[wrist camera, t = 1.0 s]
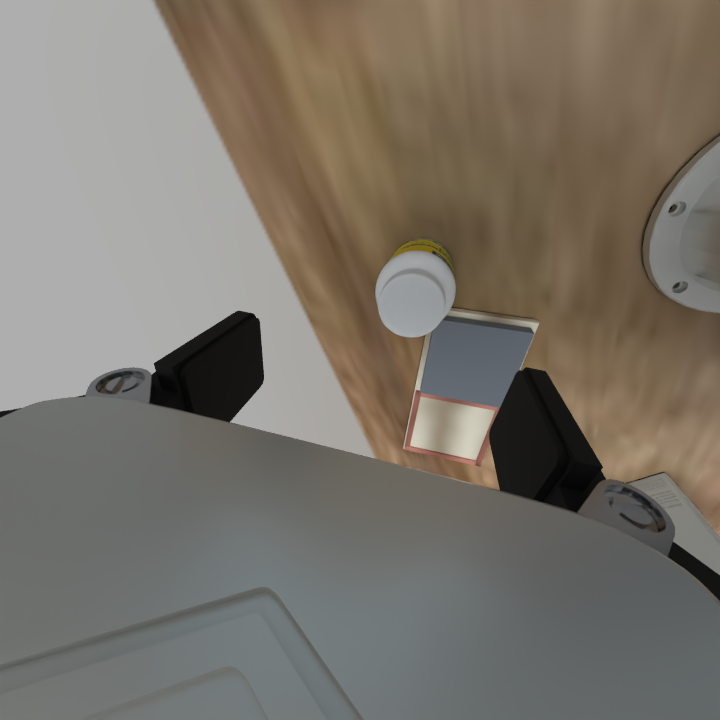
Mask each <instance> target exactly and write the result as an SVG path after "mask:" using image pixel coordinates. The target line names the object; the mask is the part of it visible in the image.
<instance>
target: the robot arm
mask: <svg viewBox="0 0 720 720" xmlns="http://www.w3.org/2000/svg"><path fill="white" fill-rule="evenodd" d="M671 206H673V207H672V209H671V210H670V211H669V208H670V207H671ZM668 211H669V212H668ZM643 261H644V266H645V269H646V272H647V274H648V277H649V279H650V280H651V282H652V283H653V284H654V286H655V287H656V288H657V290H659V291H660V292H661V293H663V294H664V295H665V296H666V297H668V298H669V299H671V300H673V301H675V302H677V303H679V304H681V305H683V306H686V307H689V308H692V309H695V310H699V311H704V312H712V313H720V135H719V136H718V137H717V138H716V139H714V140H713V141H712V142H711V143H709V144H708V145H707V146H706V147H704V148H703V149H702V150H700V151H699V152H698V153H697V154H696V155H695V156H694V157H693V158H692V159H691V160H690V161H689V162H688V163H687V164H686V165H685V166H684V167H683V168H682V169H681V170H680V172H679V173H678V174H677V175H676V177H675V178H674V179H673V181H672V182H671V183H670V184H669V186H668V187H667V188H666V190H665V191H664V192H663V194H662V196H661V198H660V199H659V201H658V203H657V205H656V206H655V208H654V210H653V212H652V214H651V217H650V220H649V222H648V225H647V228H646V230H645V236H644V242H643ZM154 366H155V369H156V372H155V373H153V374H152V375H151V373H150V372H149V371H147V370H145V369H142V368H123V369H118V370H114V371H111V372H108V373H105V374H103V375H101V376H99V377H98V378H96V379H95V380H94V381H93V382H91V384H90V385H89V387H88V389H87V392H86V395H83V396H78V397H70V398H61V399H54V400H48V401H42V402H38V403H35V404H32V405H29V406H26V407H24V408H19V409H14V410H8V411H1V412H0V720H720V575H719V574H718V573H716V572H715V571H713V570H712V569H711V568H709V567H708V566H707V565H705V564H704V563H702V562H701V561H700V560H698V559H697V558H695V557H694V556H693V555H691V554H690V553H689V552H687V551H686V550H684V549H683V548H682V547H680V546H679V545H678V544H676V543H675V542H673V539H674V536H675V526H674V524H673V521H672V519H671V517H670V516H669V515H668V514H667V512H666V511H665V510H664V509H663V508H662V507H661V506H660V505H659V504H658V503H657V502H656V501H655V500H654V499H652V498H651V497H650V496H648V495H647V494H645V493H644V492H643V491H641V490H639V489H637V488H635V487H633V486H632V485H629V484H627V483H624V482H621V481H617V480H612V479H608V480H606V478H605V477H604V475H603V473H602V472H601V469H602V468H603V467H602V465H601V463H600V462H599V460H598V458H597V457H596V455H595V453H594V452H593V450H592V448H591V447H590V445H589V443H588V441H587V440H586V438H585V436H584V435H583V433H582V431H581V430H580V428H579V426H578V425H577V423H576V421H575V420H574V418H573V416H572V415H571V413H570V411H569V410H568V408H567V406H566V404H565V403H564V401H563V399H562V398H561V396H560V394H559V393H558V391H557V389H556V388H555V386H554V384H553V383H552V381H551V379H550V378H549V376H548V374H547V373H546V372H545V371H542V370H537V369H532V368H527V367H526V368H524V370H523V371H520V370H519V371H517V372H516V374H515V376H514V378H513V381H512V383H511V385H510V387H509V389H508V391H507V394H506V396H505V398H504V400H503V402H502V404H501V406H500V409H499V411H498V413H497V415H496V417H495V419H494V421H493V424H492V426H491V428H490V431H489V440H490V445H491V450H492V455H493V459H494V464H495V469H496V473H497V478H498V483H499V488H500V490H496V489H492V488H488V487H484V486H481V485H477V484H473V483H469V482H465V481H461V480H457V479H453V478H449V477H445V476H442V475H438V474H434V473H430V472H426V471H422V470H418V469H414V468H410V467H406V466H402V465H398V464H394V463H390V462H386V461H382V460H378V459H374V458H370V457H366V456H362V455H358V454H354V453H350V452H346V451H342V450H338V449H334V448H330V447H326V446H322V445H318V444H315V443H311V442H307V441H302V440H298V439H294V438H291V437H287V436H282V435H279V434H275V433H271V432H266V431H263V430H259V429H255V428H251V427H247V426H242V425H239V424H235V423H230V421H231V420H232V419H233V418H234V417H235V415H236V414H237V413H238V412H239V411H240V410H241V408H242V407H243V406H244V405H245V404H246V403H247V402H248V401H249V399H250V398H251V397H252V396H253V395H254V394H255V392H256V391H257V390H258V389H259V388H260V387H261V385H262V384H263V380H264V370H263V357H262V345H261V332H260V321H259V319H258V318H256V316H255V315H254V314H252V313H247V312H243V311H237V312H235V313H233V314H232V315H230V316H228V317H227V318H225V319H224V320H222V321H221V322H219V323H217V324H216V325H214V326H213V327H211V328H210V329H208V330H206V331H205V332H203V333H201V334H200V335H198V336H197V337H195V338H194V339H192V340H190V341H189V342H187V343H185V344H184V345H182V346H181V347H179V348H178V349H176V350H174V351H173V352H171V353H170V354H168V355H166V356H165V357H163V358H162V359H160V360H158V361H157V362H155V363H154Z"/></svg>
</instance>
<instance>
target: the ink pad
mask: <svg viewBox="0 0 720 720" xmlns="http://www.w3.org/2000/svg"><path fill="white" fill-rule="evenodd" d="M534 334H535V333H534V332H533V330H532V329H531V328H530V327H523V326H516V325H509V324H502V323H495V322H488V321H481V320H474V319H467V318H460V317H453V316H445V317H444V318H443V319H442V320H441V322H440V323H439V325H438V326H437V327H436V328H435V329H434V330H433V331H432V334H431V339H430V344H429V348H428V353H427V358H426V363H425V367H424V372H423V377H422V382H421V387H420V393H424V394H429V395H435V396H440V397H445V398H451V399H456V400H461V401H466V402H472V403H477V404H482V405H488V406H493V407H498V408H500V406H501V404H502V402H503V400H504V398H505V396H506V394H507V391H508V389H509V387H510V385H511V383H512V381H513V378H514V376H515V374H516V372H517V371H519V370H520V368H521V365H522V363H523V361H524V358H525V356H526V353H527V351H528V348H529V346H530V344H531V341H532V339H533V336H534Z"/></svg>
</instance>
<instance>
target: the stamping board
mask: <svg viewBox="0 0 720 720" xmlns="http://www.w3.org/2000/svg"><path fill="white" fill-rule="evenodd" d="M446 316H453V317H460V318H467V319H474V320H481V321H488V322H495V323H502V324H509V325H516V326H523V327H530V328H531V329H532V330H533V332H534V333H536V330H537V328H538V325H539V322H538V321H537V320H536V319H529V318H522V317H515V316H508V315H500V314H493V313H486V312H479V311H472V310H464V309H457V308H451V309H450V311H449V312H448V314H447V315H446ZM431 334H432V331H431V332H430V333H428V334H426V335H425V340H424V345H423V350H422V355H421V360H420V365H419V370H418V375H417V380H416V385H415V390H414V395H413V400H412V405H411V410H410V415H409V420H408V426H407V431H406V436H405V441H404V446H403V449H404V450H409V451H413V452H418V453H422V454H427V455H431V456H436V457H440V458H445V459H449V460H454V461H458V462H463V463H467V464H472V465H476V466H481V464H482V461H483V459H484V456H485V454H486V452H487V449H488V447H489V444H490V440H489V431H490V428H491V426H492V424H493V421H494V419H495V417H496V415H497V413H498V411H499V409H500V408H498V407H493V406H488V405H482V404H477V403H472V402H466V401H461V400H456V399H451V398H445V397H440V396H435V395H429V394H424V393H420V387H421V382H422V377H423V372H424V367H425V363H426V358H427V353H428V348H429V344H430V339H431ZM534 335H535V334H534ZM533 337H534V336H533ZM532 340H533V339H532ZM531 342H532V341H531ZM530 345H531V344H530ZM529 347H530V346H529ZM528 350H529V348H528ZM527 352H528V351H527ZM526 354H527V353H526ZM525 357H526V356H525ZM524 359H525V358H524ZM523 362H524V361H523ZM522 364H523V363H522ZM521 367H522V365H521ZM520 369H521V368H520Z"/></svg>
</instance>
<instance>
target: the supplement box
mask: <svg viewBox="0 0 720 720" xmlns="http://www.w3.org/2000/svg"><path fill="white" fill-rule="evenodd" d="M628 484H629V485H632V486H633V487H635V488H637V489H639V490H641V491H643V492H644V493H645V494H647V495H648V496H650V497H651V498H652V499H654V500H655V501H656V502H657V503H658V504H659V505H660V506H661V507H662V508H663V509H664V510H665V511H666V512H667V514H668V515H669V516H670V517H671V519H672V521H673V524H674V526H675V536H674V539H673V542H675V543H676V544H678V545H679V546H680V547H682V548H683V549H684V550H686V551H687V552H689V553H690V554H691V555H693V556H694V557H695V558H697V559H698V560H700V561H701V562H702V563H704V564H705V565H707V566H708V567H709V568H711V569H712V570H713V571H715V572H716V573H718V574H719V575H720V537H719V536H718V535H717V533H716V532H715V531H714V530H713V528H712V527H711V526H710V524H709V523H708V522H707V520H706V519H705V518H704V517H703V515H702V514H701V513H700V511H699V510H698V509H697V508H696V507H695V505H694V504H693V503H692V502H691V501H690V499H689V498H688V497H687V496H686V495H685V494H684V493H683V492H682V490H681V489H680V488H679V487H678V486H677V485H676V484H675V483H674V482H673V481H672V479H671V478H670V477H669V476H668V475H667V474H666V473H662V474H658V475H655V476H651V477H648V478H644V479H641V480H638V481H634V482H631V483H628Z"/></svg>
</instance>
